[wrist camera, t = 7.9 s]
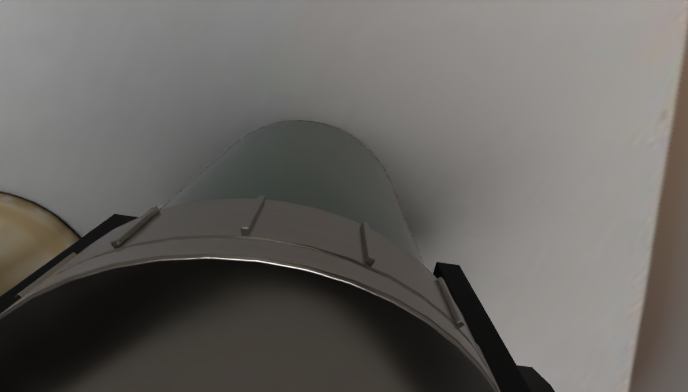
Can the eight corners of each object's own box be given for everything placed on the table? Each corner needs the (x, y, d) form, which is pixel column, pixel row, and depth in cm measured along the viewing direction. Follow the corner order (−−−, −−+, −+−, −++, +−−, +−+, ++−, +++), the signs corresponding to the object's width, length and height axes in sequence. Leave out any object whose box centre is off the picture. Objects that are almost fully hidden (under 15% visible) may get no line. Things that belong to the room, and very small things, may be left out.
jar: (172, 228, 17) (-61, 475, 7) (278, 76, 14) (151, 125, 5) (320, 319, 19) (301, 612, 9) (434, 198, 16) (576, 414, 7)
